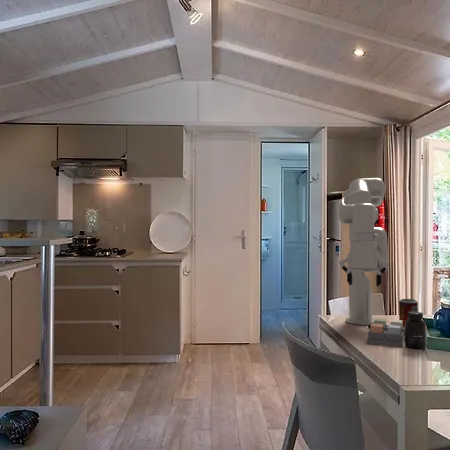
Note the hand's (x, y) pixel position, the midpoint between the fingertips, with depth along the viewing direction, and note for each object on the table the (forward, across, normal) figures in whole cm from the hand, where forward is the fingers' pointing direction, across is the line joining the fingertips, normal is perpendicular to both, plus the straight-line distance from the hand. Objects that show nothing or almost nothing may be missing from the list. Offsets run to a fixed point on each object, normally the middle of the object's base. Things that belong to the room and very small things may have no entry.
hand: (364, 285), depth 158 cm
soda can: (+21, -12, -29) cm, 38 cm away
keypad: (+21, -6, -11) cm, 24 cm away
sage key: (+18, -3, -16) cm, 24 cm away
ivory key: (+18, -9, -16) cm, 25 cm away
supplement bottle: (+21, -16, -3) cm, 27 cm away
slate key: (+18, -9, -6) cm, 21 cm away
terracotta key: (+18, -3, -6) cm, 19 cm away
